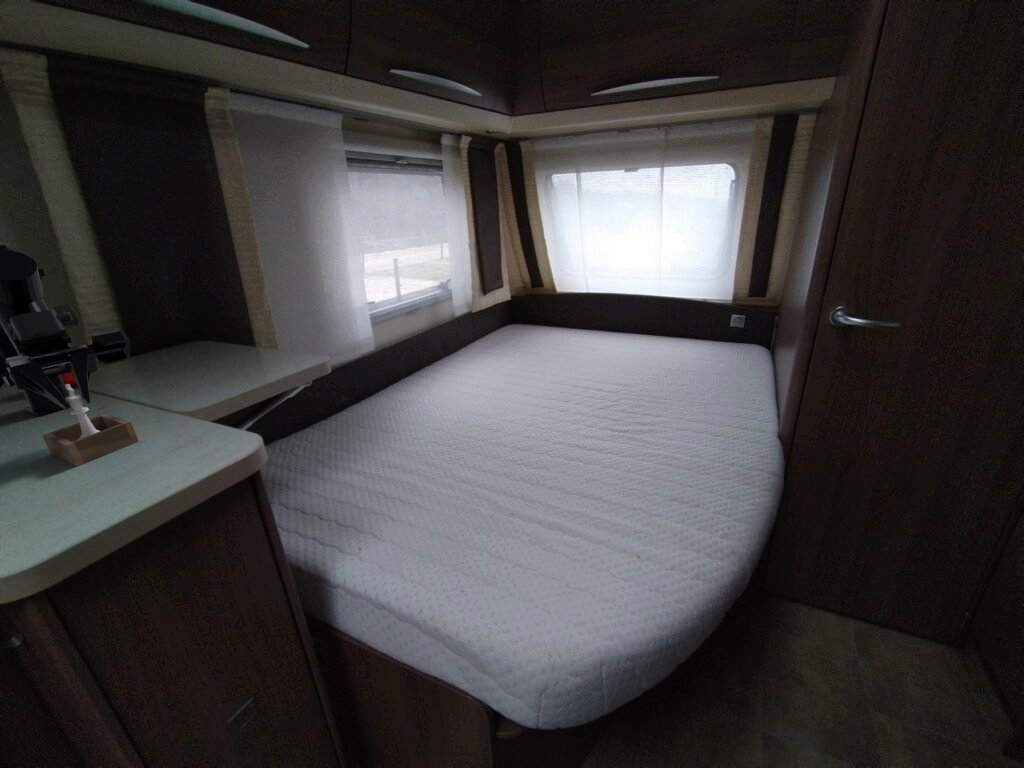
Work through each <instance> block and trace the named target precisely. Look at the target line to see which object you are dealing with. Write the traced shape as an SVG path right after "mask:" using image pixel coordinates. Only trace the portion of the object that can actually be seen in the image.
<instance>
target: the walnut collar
mask: <svg viewBox="0 0 1024 768" xmlns="http://www.w3.org/2000/svg"><path fill="white" fill-rule="evenodd" d="M88 419H89V420H90V422H91V423H92V425H93V426H94V427H95V429H96V430H99V431H100V432H97V433H94V434H92V435H89V436H86V437H83V438H81V437H80V436H81V435H82V430H81V427H80V423H79V422H76V423H74V424H71V425H68V426H65V427H63V428H60V429H59V428H58V429H56V430H54V431H50V432H48V433H45V434H42V438H43V440H44V441H45V445H46V446H47V448H48V450H49V452H50V453H51V456H53V457H54V458H55V457H56V458H58V459H60V460H62V461H64V462H67V463H69V464H71V465H74V466H76V467H79V466H81V465H84V464H87V463H88V462H91V461H93V460H97V459H98V458H101V457H104V456H106V455H108V454H110V453H112V452H116V451H118V450H121V449H122V448H125V447H127V446H131V445H132V444H134V443H138V442H139V438H138V436H137V433H136V432H135V429H134V427H133V424H132V422H131V421H129V420H126V419H123V418H121V417H117V416H113V415H111V414H107V413H103V414H100V415H97V416H93V417H91V418H88ZM79 438H81V439H79Z"/></svg>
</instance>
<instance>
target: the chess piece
mask: <svg viewBox="0 0 1024 768" xmlns="http://www.w3.org/2000/svg"><path fill="white" fill-rule="evenodd" d="M65 386H66V388H65V389H66V391H68V393H69V396H67V397H65V400H66V402H67V403H68V404H69V405H70V406H69V407H71V408H73V409H72V410H71V411H69V412H70V415H71V416H75V415H76V416H77V419H78V423H80V427H81V430H82V435H81V436H80V437H81V438H83V437H86V436H89V435H92V434H94V433H97V432H100V431H99V430H96V429H95V427H94V426H93V425H92V423H91V422H90V420H89V419H90V418H89V417H88V416H87V414H86V413H87V412H88V411H90V408H89V407H87V406H83V397H82V394H81V393H74V392H75V389H74V388H71V386H70V384H67V385H65ZM81 438H79V439H81Z"/></svg>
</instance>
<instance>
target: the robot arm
mask: <svg viewBox="0 0 1024 768" xmlns="http://www.w3.org/2000/svg"><path fill="white" fill-rule="evenodd" d="M43 277H46V273H45V271H44V269H43V268H42V267H38V265H37V261H36V260H35V259H34V258H32V257H31V256H29V255H27V254H25V253H22V252H19V251H17V250H16V249H14V248H11V247H7V245H6V244H0V391H2V390H3V389H4V387H5V386H6V384H7V385H8V386H9V387H10V388H11V387H16V389H17V390H20V391H22V393H23V395H24V396H25V399H26V401H27V403H28V404H29V406H26V407H24V408H23V410H24V412H27V413H30V414H33V415H35V416H38V417H39V416H43V415H46V414H49V413H52V412H55V411H59V410H62V409H64V410H70V407H71V406H70V405H69V404H68V403H67V402H66V400H65V397H67V396H69V393H68V391H66V389H65V388H66V386H65V383H64V381H63V379H62V377H61V374H65V373H71V371H72V370H73V374H74V377H75V379H76V382H77V384H78V386H77V387H78V390H79V392H80V394H81V395H82V400H84V401H85V403H86V404H91V396H90V378H91V374H92V373H96V372H97V371H98V370H99V369H98V362H99V363H100V364H103V365H106V366H108V365H113V364H118V363H120V362H121V363H122V362H124V361H125V362H126V361H128V360H129V359H130V358H131V346H130V345H131V344H130V343H131V342H130V339H129V337H128V336H127V334H126V333H125V332H124V331H120V330H118V329H115V330H110V331H109V330H108V331H105V332H98V333H94V334H91V336H90V337H91V344H83V345H79V346H73V347H72V345H71V344H72V338H71V336H70V335H69V333H68V330H67V329H73V328H77V327H79V326H80V322H81V321H80V317H78V314H77V313H76V311H75V309H74V308H73V306H72V305H71V303H67V304H61V305H59V304H58V305H55V306H54V307H53V308H54V309H49V307H48V306H47V304H46V303H45V300H44V299H43V297H44V289H43V286H42V281H43ZM97 361H98V362H97ZM71 365H72V366H71Z"/></svg>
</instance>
